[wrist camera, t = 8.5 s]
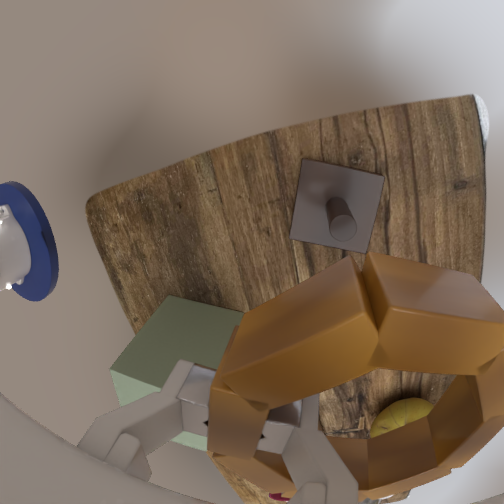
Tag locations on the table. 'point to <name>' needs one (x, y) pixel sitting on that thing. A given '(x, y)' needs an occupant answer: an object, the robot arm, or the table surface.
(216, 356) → the pedestal
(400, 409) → the fruit
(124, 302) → the table surface
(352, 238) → the stand
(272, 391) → the ring
